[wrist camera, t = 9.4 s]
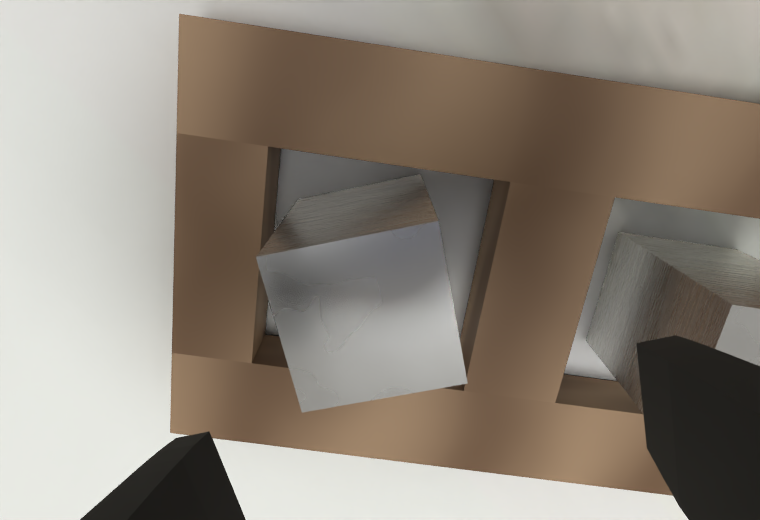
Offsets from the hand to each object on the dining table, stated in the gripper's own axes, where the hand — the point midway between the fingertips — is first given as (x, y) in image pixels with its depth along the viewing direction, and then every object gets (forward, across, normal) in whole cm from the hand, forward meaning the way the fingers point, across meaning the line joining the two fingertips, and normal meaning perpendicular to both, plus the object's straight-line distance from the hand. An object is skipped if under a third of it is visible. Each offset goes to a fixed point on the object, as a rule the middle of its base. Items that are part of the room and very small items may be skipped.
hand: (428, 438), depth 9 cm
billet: (+9, -8, +3) cm, 13 cm away
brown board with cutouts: (+9, -4, +2) cm, 10 cm away
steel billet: (+9, +1, -1) cm, 9 cm away
